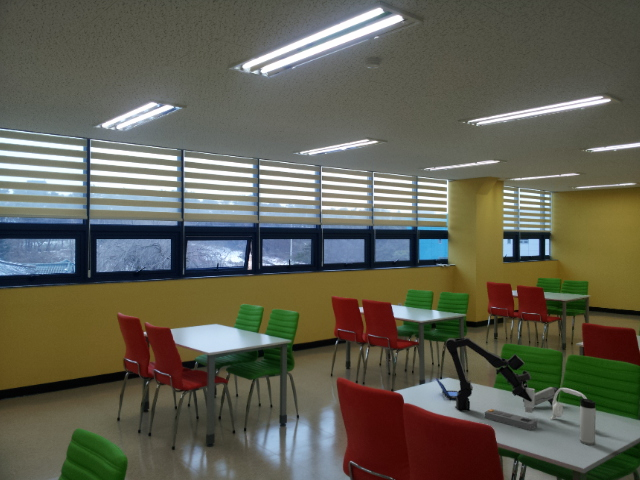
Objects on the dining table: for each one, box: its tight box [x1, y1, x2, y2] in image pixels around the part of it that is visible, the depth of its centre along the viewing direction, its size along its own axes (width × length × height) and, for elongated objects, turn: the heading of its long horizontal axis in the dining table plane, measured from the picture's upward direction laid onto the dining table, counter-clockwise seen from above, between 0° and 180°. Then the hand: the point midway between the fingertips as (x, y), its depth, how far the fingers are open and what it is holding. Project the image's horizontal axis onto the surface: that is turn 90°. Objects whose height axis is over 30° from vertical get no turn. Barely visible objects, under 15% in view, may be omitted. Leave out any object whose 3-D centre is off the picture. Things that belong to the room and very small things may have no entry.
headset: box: [550, 387, 588, 421], centre depth 252 cm, size 20×7×18 cm, turn 29°
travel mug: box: [579, 397, 597, 446], centre depth 228 cm, size 6×7×20 cm
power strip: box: [484, 408, 538, 431], centre depth 254 cm, size 24×8×4 cm, turn 45°
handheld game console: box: [435, 378, 459, 401], centre depth 297 cm, size 16×13×9 cm
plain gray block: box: [523, 387, 536, 414], centre depth 260 cm, size 5×5×12 cm
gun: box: [522, 386, 560, 407], centre depth 281 cm, size 2×25×10 cm, turn 111°
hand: (531, 399), depth 259 cm, fingers closed on plain gray block, 5 cm apart
